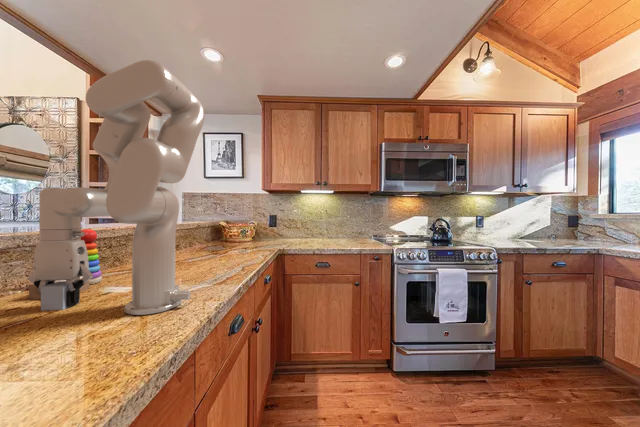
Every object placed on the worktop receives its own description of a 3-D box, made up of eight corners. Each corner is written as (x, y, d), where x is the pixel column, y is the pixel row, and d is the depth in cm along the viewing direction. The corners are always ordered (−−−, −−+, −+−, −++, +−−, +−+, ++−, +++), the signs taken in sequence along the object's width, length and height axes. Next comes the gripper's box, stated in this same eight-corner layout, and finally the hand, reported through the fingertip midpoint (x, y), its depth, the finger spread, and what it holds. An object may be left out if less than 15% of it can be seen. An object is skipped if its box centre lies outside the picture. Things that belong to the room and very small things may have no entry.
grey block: (79, 302, 69) (79, 280, 69) (62, 309, 64) (62, 286, 64) (59, 303, 68) (59, 281, 68) (40, 310, 63) (40, 286, 63)
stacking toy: (63, 286, 84) (63, 229, 83) (89, 279, 91) (89, 228, 91) (83, 287, 82) (83, 230, 82) (108, 280, 90) (108, 228, 90)
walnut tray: (89, 288, 81) (89, 275, 81) (64, 298, 72) (64, 283, 72) (58, 289, 80) (58, 276, 80) (28, 299, 71) (28, 284, 71)
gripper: (106, 234, 71) (106, 299, 71) (38, 234, 69) (38, 301, 69) (84, 237, 63) (84, 309, 63) (7, 237, 61) (8, 312, 61)
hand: (60, 304), depth 66 cm, fingers closed on grey block, 5 cm apart
